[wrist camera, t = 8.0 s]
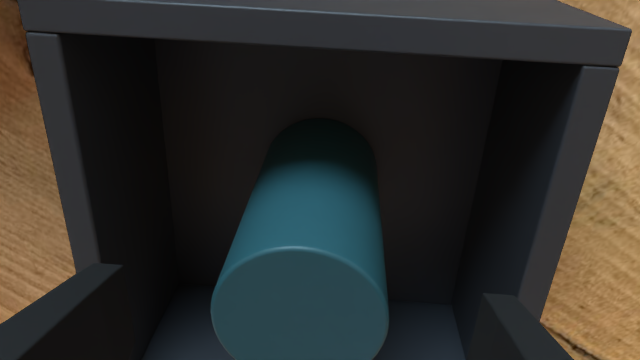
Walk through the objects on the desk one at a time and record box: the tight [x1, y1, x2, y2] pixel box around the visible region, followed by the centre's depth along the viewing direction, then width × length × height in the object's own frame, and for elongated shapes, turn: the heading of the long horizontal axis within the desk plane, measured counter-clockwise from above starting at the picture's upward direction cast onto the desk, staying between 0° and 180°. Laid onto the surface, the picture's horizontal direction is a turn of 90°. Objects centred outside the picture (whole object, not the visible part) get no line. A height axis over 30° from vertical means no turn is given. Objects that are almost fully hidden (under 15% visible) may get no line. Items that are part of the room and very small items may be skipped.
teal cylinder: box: [211, 119, 390, 360], centre depth 13 cm, size 4×4×7 cm
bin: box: [17, 0, 632, 360], centre depth 14 cm, size 11×11×6 cm
